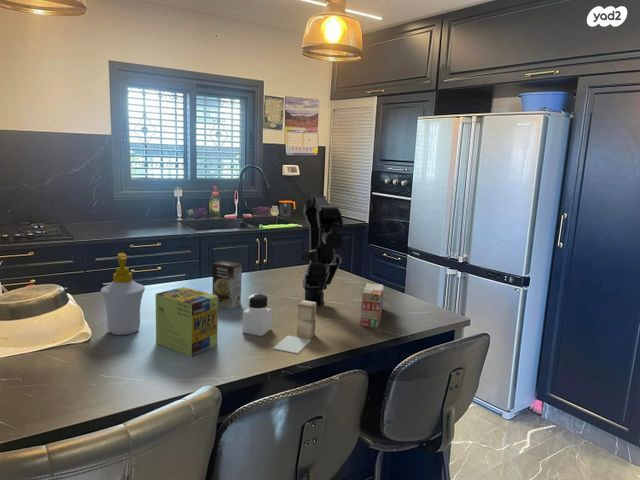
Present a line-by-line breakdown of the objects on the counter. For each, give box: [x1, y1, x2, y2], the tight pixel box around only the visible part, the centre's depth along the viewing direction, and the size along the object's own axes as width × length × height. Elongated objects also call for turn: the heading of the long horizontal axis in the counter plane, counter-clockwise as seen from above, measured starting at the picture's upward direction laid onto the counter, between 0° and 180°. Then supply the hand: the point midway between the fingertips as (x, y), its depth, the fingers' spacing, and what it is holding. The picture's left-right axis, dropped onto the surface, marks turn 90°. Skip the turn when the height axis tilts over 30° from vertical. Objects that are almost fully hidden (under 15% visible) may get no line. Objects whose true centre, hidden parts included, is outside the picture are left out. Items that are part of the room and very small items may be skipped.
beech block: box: [296, 299, 317, 340], centre depth 151 cm, size 4×4×11 cm
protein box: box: [155, 286, 219, 357], centre depth 139 cm, size 10×15×16 cm
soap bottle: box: [100, 252, 146, 336], centre depth 146 cm, size 13×13×25 cm
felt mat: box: [272, 335, 312, 355], centre depth 144 cm, size 11×8×1 cm
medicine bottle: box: [242, 293, 273, 337], centre depth 153 cm, size 7×7×12 cm
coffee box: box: [212, 260, 243, 310], centre depth 176 cm, size 9×6×16 cm
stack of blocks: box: [360, 282, 385, 329], centre depth 172 cm, size 21×6×12 cm, turn 169°
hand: (324, 287), depth 165 cm, fingers open, 7 cm apart
